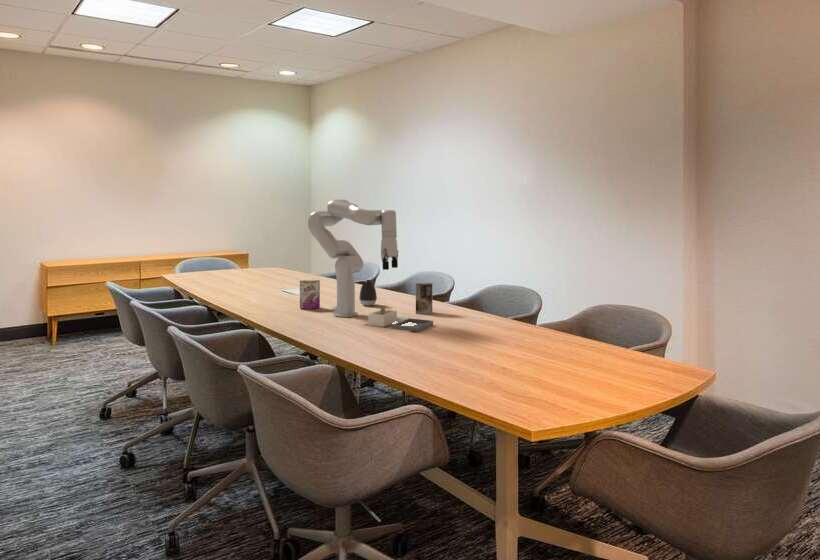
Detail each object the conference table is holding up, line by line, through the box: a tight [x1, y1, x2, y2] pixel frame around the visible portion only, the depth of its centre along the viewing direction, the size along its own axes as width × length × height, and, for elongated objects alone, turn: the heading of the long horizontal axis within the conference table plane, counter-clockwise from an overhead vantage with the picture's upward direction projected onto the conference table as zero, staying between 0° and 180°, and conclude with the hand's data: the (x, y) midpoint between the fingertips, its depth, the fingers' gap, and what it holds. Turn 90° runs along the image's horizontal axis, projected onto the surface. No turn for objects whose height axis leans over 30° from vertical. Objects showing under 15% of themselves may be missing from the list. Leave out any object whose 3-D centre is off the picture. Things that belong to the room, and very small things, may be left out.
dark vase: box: [358, 279, 378, 307], centre depth 356 cm, size 10×10×15 cm
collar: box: [368, 309, 398, 328], centre depth 302 cm, size 8×14×6 cm, turn 154°
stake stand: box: [363, 308, 393, 329], centre depth 302 cm, size 13×17×8 cm
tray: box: [390, 317, 434, 333], centre depth 297 cm, size 13×19×2 cm
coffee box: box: [415, 282, 433, 315], centre depth 333 cm, size 9×6×16 cm
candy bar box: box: [299, 278, 321, 310], centre depth 345 cm, size 11×5×16 cm, turn 98°
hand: (390, 268), depth 309 cm, fingers open, 9 cm apart
